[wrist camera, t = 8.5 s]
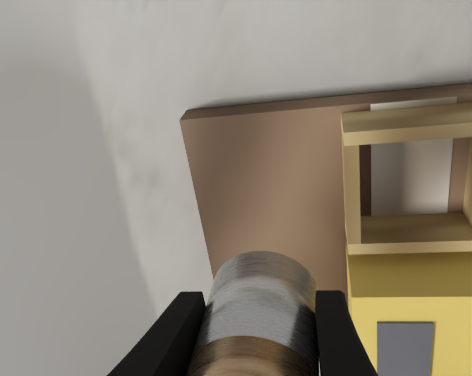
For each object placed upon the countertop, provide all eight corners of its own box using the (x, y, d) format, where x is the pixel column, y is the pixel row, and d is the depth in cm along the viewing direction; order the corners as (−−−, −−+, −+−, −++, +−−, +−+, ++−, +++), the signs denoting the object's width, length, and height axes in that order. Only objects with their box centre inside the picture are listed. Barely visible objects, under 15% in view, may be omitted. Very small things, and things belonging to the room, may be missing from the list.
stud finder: (468, 238, 19) (499, 298, 16) (457, 335, 21) (482, 403, 18) (345, 242, 20) (351, 299, 17) (349, 334, 22) (355, 399, 19)
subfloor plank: (581, 72, 16) (634, 100, 14) (526, 332, 22) (556, 387, 20) (186, 110, 19) (165, 139, 17) (231, 330, 25) (221, 378, 23)
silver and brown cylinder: (267, 232, 12) (240, 401, 8) (340, 301, 13) (352, 491, 8) (192, 285, 13) (132, 455, 9) (262, 345, 14) (238, 529, 10)
